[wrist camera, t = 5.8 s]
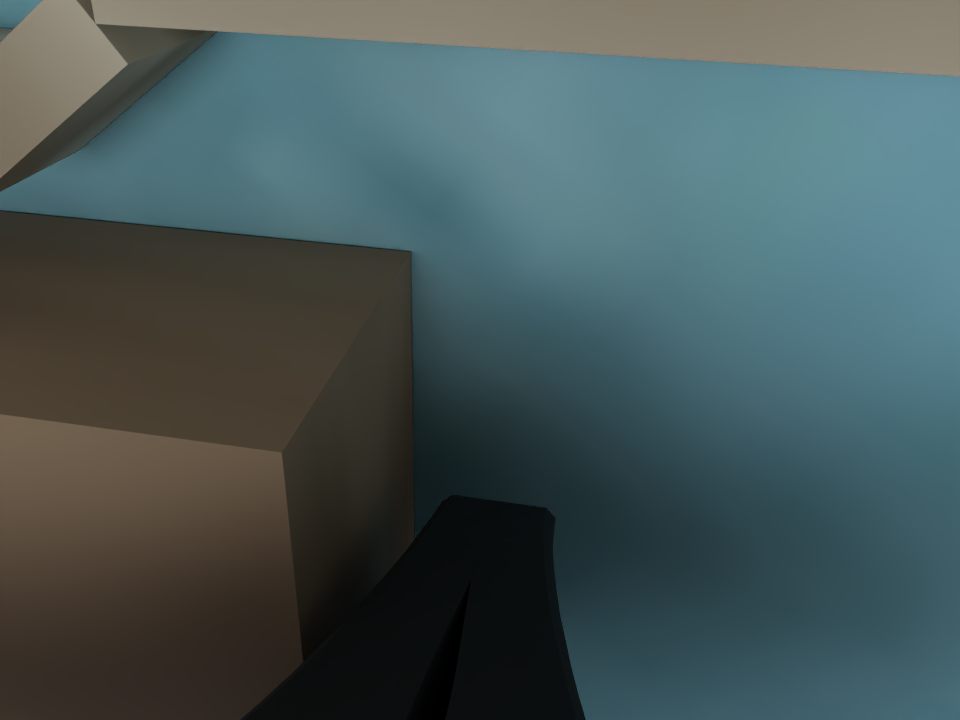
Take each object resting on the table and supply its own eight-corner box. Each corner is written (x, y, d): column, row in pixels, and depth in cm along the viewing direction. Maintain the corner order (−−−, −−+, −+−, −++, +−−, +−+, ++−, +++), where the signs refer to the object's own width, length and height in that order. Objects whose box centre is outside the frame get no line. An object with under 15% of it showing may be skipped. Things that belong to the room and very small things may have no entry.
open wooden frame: (832, 884, 15) (854, 1023, 13) (-247, 682, 18) (-345, 773, 16) (1197, -84, 8) (1351, -62, 6) (-703, -150, 11) (-970, -148, 9)
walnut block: (415, 627, 13) (326, 895, 10) (-13, 558, 14) (-226, 779, 11) (410, 251, 10) (280, 451, 7) (-129, 198, 11) (-472, 350, 8)
